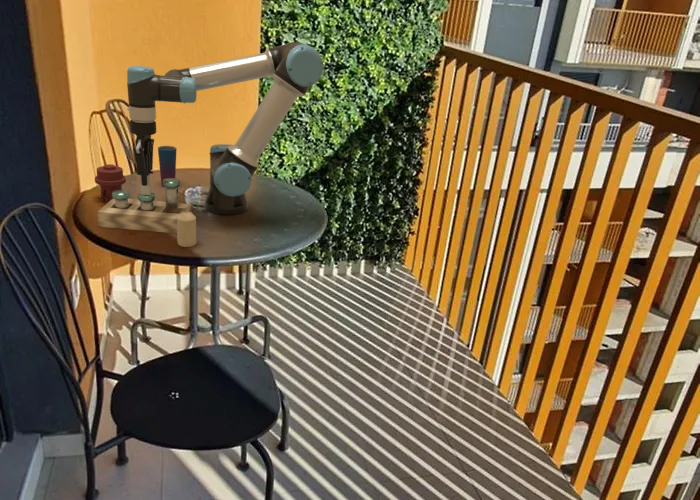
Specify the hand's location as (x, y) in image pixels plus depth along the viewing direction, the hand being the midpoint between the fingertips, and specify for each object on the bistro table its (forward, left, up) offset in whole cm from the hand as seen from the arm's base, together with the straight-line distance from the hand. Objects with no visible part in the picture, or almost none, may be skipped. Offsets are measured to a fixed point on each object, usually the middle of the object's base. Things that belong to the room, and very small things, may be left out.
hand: (146, 194), depth 173 cm
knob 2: (-8, 0, -3) cm, 9 cm away
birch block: (0, 0, -10) cm, 10 cm away
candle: (-16, +14, -10) cm, 24 cm away
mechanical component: (+18, -18, -10) cm, 27 cm away
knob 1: (+8, 0, -9) cm, 12 cm away
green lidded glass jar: (0, 0, -9) cm, 9 cm away
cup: (+4, -39, -10) cm, 40 cm away
